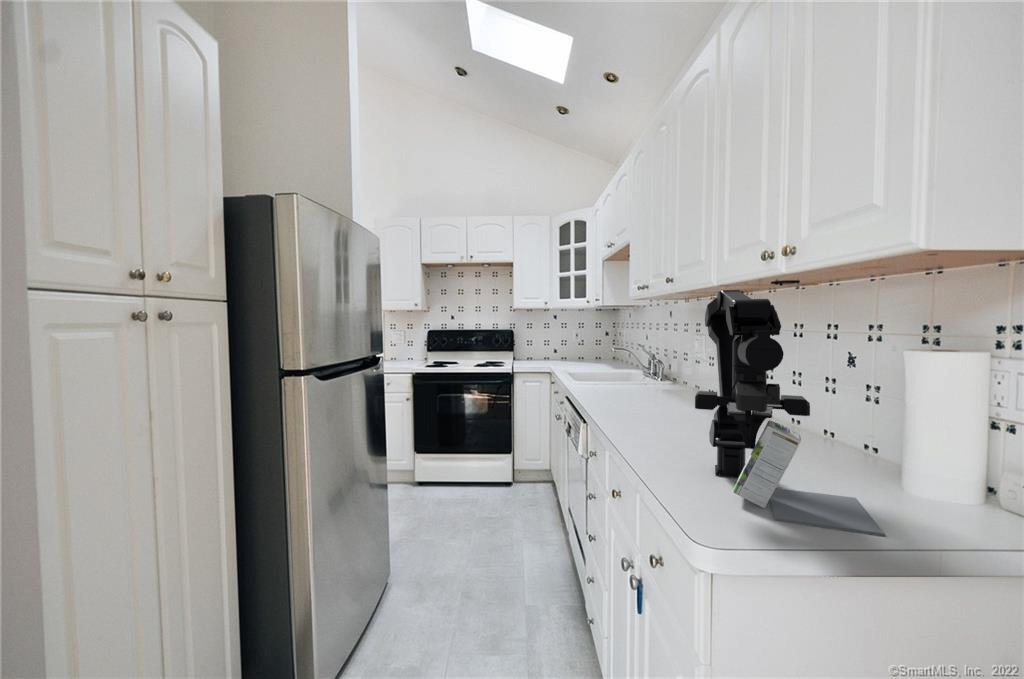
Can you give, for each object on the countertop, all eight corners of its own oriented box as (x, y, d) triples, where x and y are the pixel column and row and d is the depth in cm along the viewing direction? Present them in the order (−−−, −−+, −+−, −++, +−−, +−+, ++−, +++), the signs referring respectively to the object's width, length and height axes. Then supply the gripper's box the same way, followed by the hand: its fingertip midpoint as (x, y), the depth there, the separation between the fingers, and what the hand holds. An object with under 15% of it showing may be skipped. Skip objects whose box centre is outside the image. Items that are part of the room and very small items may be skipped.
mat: (765, 488, 92) (765, 486, 92) (855, 499, 86) (855, 497, 86) (775, 520, 77) (775, 517, 77) (885, 536, 71) (885, 533, 71)
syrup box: (734, 483, 89) (767, 418, 86) (766, 499, 86) (801, 432, 83) (732, 492, 84) (766, 424, 81) (766, 510, 81) (802, 439, 78)
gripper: (693, 368, 82) (693, 453, 82) (816, 371, 74) (815, 466, 74) (696, 363, 92) (696, 439, 92) (805, 365, 84) (804, 449, 84)
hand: (748, 448), depth 86 cm, fingers closed
